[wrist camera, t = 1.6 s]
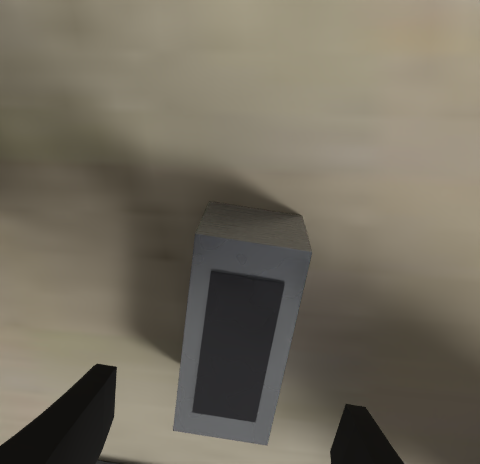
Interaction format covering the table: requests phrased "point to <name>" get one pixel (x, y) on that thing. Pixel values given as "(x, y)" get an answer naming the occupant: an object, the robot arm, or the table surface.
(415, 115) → the table surface
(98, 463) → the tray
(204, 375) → the block
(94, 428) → the robot arm
